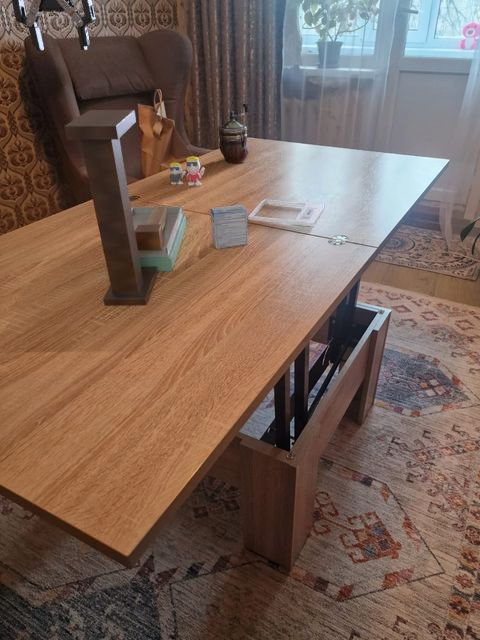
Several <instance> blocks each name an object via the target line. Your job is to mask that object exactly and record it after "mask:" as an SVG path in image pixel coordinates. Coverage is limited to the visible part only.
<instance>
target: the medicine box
mask: <svg viewBox="0 0 480 640" xmlns="http://www.w3.org/2000/svg"><path fill="white" fill-rule="evenodd" d="M209 210H210V224H211V225H210V227H211V241H212V243H213V245H214V247H215V249H216V250H218V249H219V250H220V249H227V248H233V247H239V246H248V245H249V241H248V240H249V238H248V210H247V209H246V208H245V207H244V206H243V205H242V204H235V205H228V206H227V205H226V206H218V207H211V208H209Z"/></svg>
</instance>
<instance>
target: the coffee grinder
mask: <svg viewBox="0 0 480 640" xmlns="http://www.w3.org/2000/svg"><path fill="white" fill-rule="evenodd" d="M242 107H244V111H243V112H241V113H239V114H234V113H235V111H232V110H231V111H229V113H230V115H229V120H228V121H226V122H225V123H224V124H222V125H219V126H218V136H219V152H220V153H221V155H222V157H223V158H224V160H225V162H227V163H232V164H241V163H245V162H246V159H247V158H248V155H249V152H250V150H249V142H248V131H247V129H248V127H247V126H246V125H244V124H241V123H240V122H238V121H237V120H235V119H236V118H238V117H241V116H243V115H245V114H249V107H250V103H242Z"/></svg>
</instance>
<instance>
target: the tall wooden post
mask: <svg viewBox="0 0 480 640" xmlns="http://www.w3.org/2000/svg"><path fill="white" fill-rule="evenodd" d="M136 123H137V119H136V111H135V109H89V110H88V111H85V112H84V113H83V114H81V115H79V116H78V117H77V118H75V119H73V120H72V121H70V122H68V123H67V124H66V125H65V124H64V127H63V128H64V131H65V135H66V140H67V141H79V142H80V146H81V151H82V155H83V161H84V166H85V170H86V174H87V179H88V184H89V189H90V194H91V198H92V204H93V209H94V213H95V218H96V222H97V226H98V231H99V236H100V241H101V245H102V246H101V247H102V250H103V255H104V260H106V261H105V265H107V266H106V270H108V271H107V274H108V279H109V284H110V285H109V287H108V289H107V291H106V293H105V295H104V296H103V299H102V300H103V304H104V306H106V307H107V306H147V303H148V300H149V298H150V296H151V292H152V290H153V287H154V284H155V281H156V279H157V276H158V273H159V271H158V270H157V266H149V267H141V265H140V259H139V253H138V247H137V241H136V235H135V229H134V223H133V217H132V211H131V208H132V206H131V199H130V195H129V194H130V193H129V187H128V182H127V181H128V180H127V175H126V169H125V164H124V158H123V152H122V146H121V140H120V138H122V137H123V136H124V135H125V133H126V132H127V131H128V130H129V129H131V128H132V127H133V126H134V125H135V124H136Z"/></svg>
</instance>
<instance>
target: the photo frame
mask: <svg viewBox="0 0 480 640" xmlns="http://www.w3.org/2000/svg"><path fill="white" fill-rule="evenodd" d="M266 204H267V205H269V204H270V205H280V206H289V207H290V206H291V207H298V208H302V209H301V210H300V212H299V213H298V215H297V216H296V218H295V219H294V220H293V219H286V218H285V219H284V218H276V217H268V216H267V217H266V216H257V215H256V214H258V212H259V211H260V210H261V209H262V208H263V207H264V206H265V205H266ZM325 209H326V205H325V204H317V203H307V202H296V201H288V200H287V201H285V200H277V199H268V198H267V199H266V198H263V200H262V201H261V202H260V203H259V204H258V205H257V206H256V207H255V208H254V209H253V210H252V212H250V213H249V214H248V215H247V221H256V222H265V223H274V224H284V225H293V226H303V227H311V228H314V227H315V225H316V224H317V222H318V220H319V219H320V217H321V215H322V214H323V212H324V211H325Z"/></svg>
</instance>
